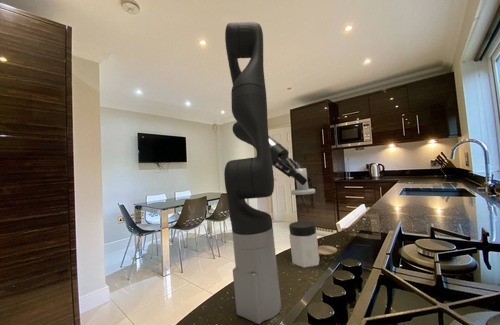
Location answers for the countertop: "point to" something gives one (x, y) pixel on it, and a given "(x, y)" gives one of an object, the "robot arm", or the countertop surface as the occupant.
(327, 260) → the countertop surface
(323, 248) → the disc
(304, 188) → the lid
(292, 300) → the countertop surface
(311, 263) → the jar
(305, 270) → the countertop surface
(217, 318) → the countertop surface
